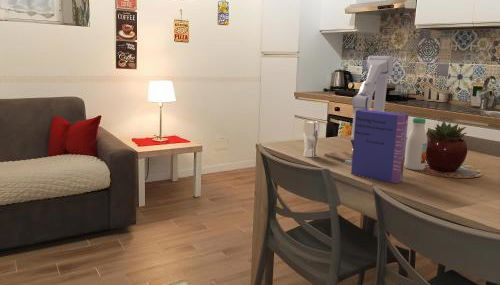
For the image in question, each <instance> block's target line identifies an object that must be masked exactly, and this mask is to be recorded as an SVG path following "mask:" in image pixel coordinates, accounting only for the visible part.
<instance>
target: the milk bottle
mask: <svg viewBox="0 0 500 285" xmlns="http://www.w3.org/2000/svg"><path fill="white" fill-rule="evenodd" d="M425 125H426V119H425V118H423V117H421V118H420V117H414V118H413V119H412V127H411V130H410V131H409V133H408V135H407V137H406V146H405V156H404V166H403V168H404V169H405V168H406V169H407V170H413V171H423V170H425V168H426V160H427V149H428V136H427V133H426V129H425Z"/></svg>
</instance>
